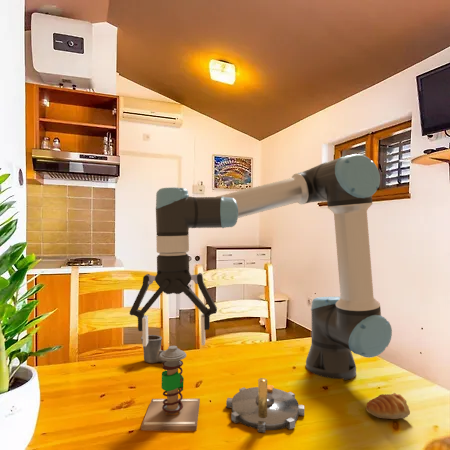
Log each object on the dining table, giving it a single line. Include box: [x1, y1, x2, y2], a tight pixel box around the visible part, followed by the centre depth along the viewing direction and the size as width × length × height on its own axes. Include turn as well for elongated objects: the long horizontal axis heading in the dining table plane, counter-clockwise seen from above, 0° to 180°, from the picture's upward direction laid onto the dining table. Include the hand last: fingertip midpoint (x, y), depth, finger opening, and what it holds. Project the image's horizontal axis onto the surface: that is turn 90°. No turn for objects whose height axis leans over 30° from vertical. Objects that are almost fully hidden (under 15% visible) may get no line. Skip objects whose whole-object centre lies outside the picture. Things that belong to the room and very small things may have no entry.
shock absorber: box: [159, 345, 187, 414], centre depth 82 cm, size 6×6×15 cm
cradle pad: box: [140, 398, 201, 432], centre depth 82 cm, size 12×12×1 cm
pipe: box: [140, 334, 165, 364], centre depth 114 cm, size 6×13×8 cm, turn 73°
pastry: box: [365, 392, 411, 420], centre depth 83 cm, size 9×7×4 cm
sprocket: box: [225, 377, 305, 433], centre depth 84 cm, size 19×19×10 cm
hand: (174, 344), depth 82 cm, fingers open, 13 cm apart
